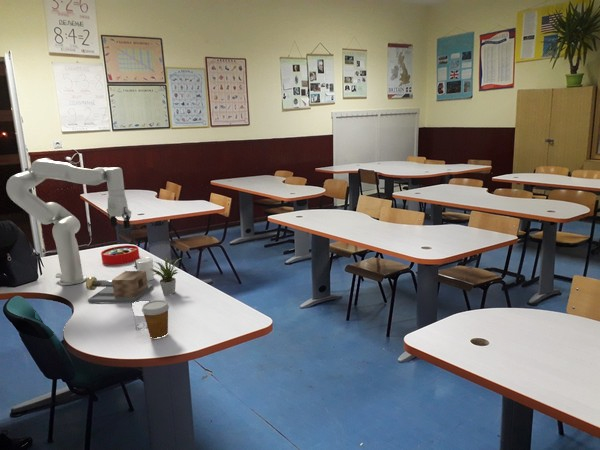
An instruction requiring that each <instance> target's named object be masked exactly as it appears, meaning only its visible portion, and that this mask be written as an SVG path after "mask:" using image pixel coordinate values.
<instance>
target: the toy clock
mask: <svg viewBox="0 0 600 450" xmlns="http://www.w3.org/2000/svg"><path fill="white" fill-rule="evenodd" d="M100 255H101V261H102V264H103V265H104V266H105V265H106V266H120V265H125V264H130V263H135V260H137V259H140V251H139V247H138V246H136V245H118V246H113V247H110V248H106V249H104V250H102V251H101V252H100Z"/></svg>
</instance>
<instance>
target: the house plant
mask: <svg viewBox="0 0 600 450" xmlns="http://www.w3.org/2000/svg"><path fill="white" fill-rule="evenodd" d="M181 259H182V257H181V258H178V259H176V260H174V261H173V260H168V257H166V258H165V259H164V262H165V263H164V264H163V263H162V262H160V261H159V260H157V261H154V260H153V263H156V264H157V265H158V266H159V267H158V266H156V265H154V264H153V267H156V268H157V269H158V270H157V269H154V268H153V269H150V270H152V271H154V274H153V275H154V276H155V275H158V277H161V279H160V280H159V283H160V287H161V290H162V294H163V296H164V295H165V296H171V295H170V294H172V295H174V294H175V293H176V285H177V283H176V281H177V279H176V278H175V277H173V276H174V275H177V274H178V273H180V272H177V271H178V269H175V267H176V266H177V264H178V261H180V260H181ZM168 262H169V263H168ZM172 262H173V264H172ZM171 265H172V266H171ZM173 293H174V294H173Z"/></svg>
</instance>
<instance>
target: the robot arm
mask: <svg viewBox="0 0 600 450" xmlns="http://www.w3.org/2000/svg"><path fill="white" fill-rule="evenodd" d="M48 179H50V180H51V179H52V180H60V181H66V182H68V183H69V182H71V183H74V184H81V185H88V186H98V185H100V184H103V183H105V182H106V183H107V184H106V186H107V191H108V193H107V194H108V196H107V208H106V212H107V215H108V216H109V219H110V226H111V227H117V225H118V221H117V217H118V218H122V219H123V220H122V222H123V228H124V229H129V228H131V222H130V220H131V217H132V210H130V209H129V205H128V200H127V197H126V193H125V183H124V175H123V169H122V168H121V167H95V168H93V169H91V168H82V167H77V166H75V165H72V164H71V162H64V161H55V160H53V159H51V158H49V157H44V158H38V159H36V160H34V161H33V162H32V163H31V165H30V167H29V168H28V169H26V170H24V171H23V172H22V171H21V172H19V173H16V174H14V175H12V176H10V177H9V179H7V182H6V187H5V189H6V193H7V196H8V197H9V198H10V200H11V201H13V203H15V204H16V205H17V206H18V207H20V208H21V209H23V211H25V212H26V213H27V214H28V215H30V216H31V217H32V218H34V219H35V220H36V221H38V222H39V223H40V224H42V225H49V224H52V223H53V224H54V225H52V226H53V227H52V230H51V231H52V237H53V240H54V242H55V246H56V251H57V257H58V262H59V268H60V272H57V273H56V274H55V278H56V279H59V283H58V284H59V285H61V286H72V285H78V284H80V283H83V282H86V280H87V278H88V277H87V276H86V275H85V274H83V267H82V263H81V262H82V260H81V256H80V255H81V254H80V248H79V245H78V241H77V238H76V235H75V234H77V233H78V232H79V231H80V229H81V223H80V220H79V219H78V218H77V217H76V216H75V215H73V214H72V213H71V212H70V211H68V210H67V209H66V208H65V207H64V206H62V205H61V204H59V203H58V202H54V201H50V202H45V201H43V200H42V199H41V198H39V196H37V195H36V194H33V193H32V192H30V191H29V190H31V189H33V188H35V187H36V186H38V185H40V184H41V183H43V182H44V181H45V180H48Z"/></svg>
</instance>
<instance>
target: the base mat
mask: <svg viewBox="0 0 600 450" xmlns="http://www.w3.org/2000/svg"><path fill="white" fill-rule="evenodd" d="M153 289H154V285H153V284H148V288H146V289H145V290H144V291H142V292H141V293H140V294H139V295H137V296H136V297H114V291H113V287H103V288H102V289H101V290H99V291H98V292H97V293H95V294H94V295H91V297H89V298H88V299H87V303H88V302H116V303H115V304H117V302H118V304H119V303H120V304H125V303H126V304H129V303H130V304H133V303H132V302H135V301H137V302H138V301H139V300H140V299H141V298H143V297H144V296H145V295H146V294H148V293H149V292H150V291H152V290H153ZM135 303H136V302H135Z"/></svg>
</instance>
